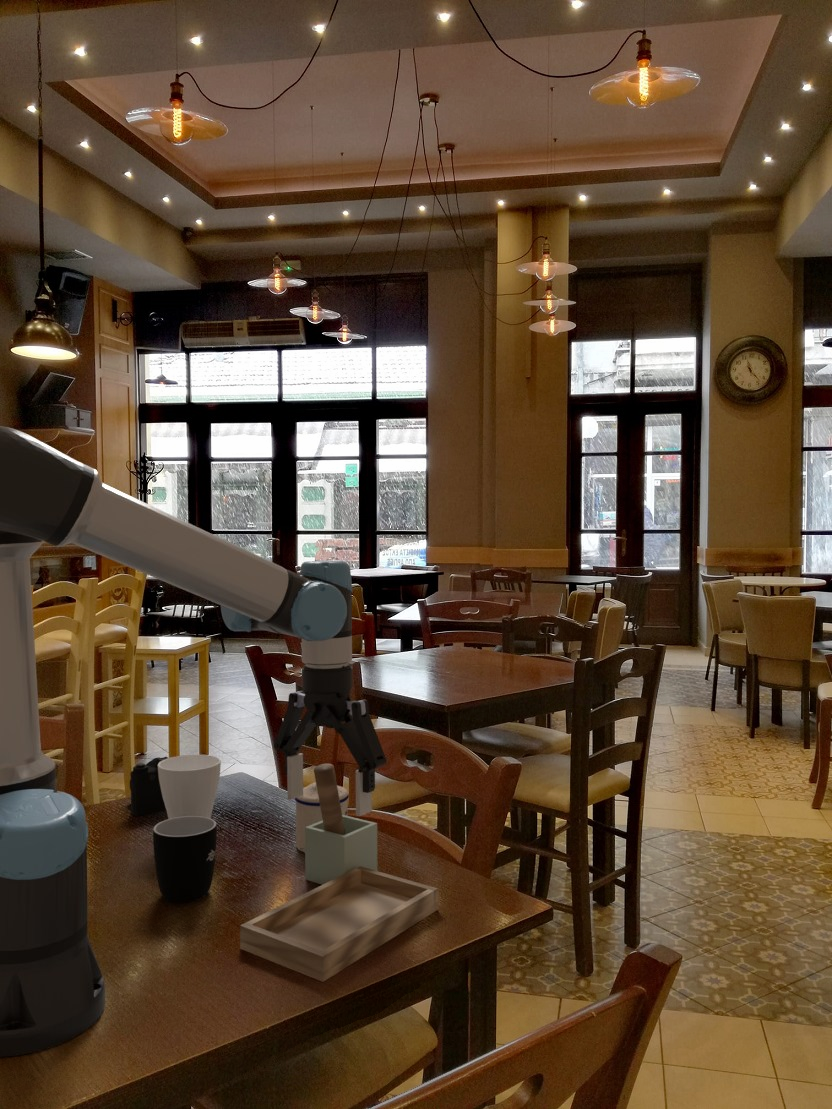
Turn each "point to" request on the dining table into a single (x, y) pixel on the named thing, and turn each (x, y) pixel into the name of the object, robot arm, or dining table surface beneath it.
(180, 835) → the mug
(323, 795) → the baguette
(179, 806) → the cup
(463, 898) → the dining table surface
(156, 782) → the black teapot
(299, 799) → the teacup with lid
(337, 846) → the pot
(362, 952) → the serving tray
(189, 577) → the robot arm
